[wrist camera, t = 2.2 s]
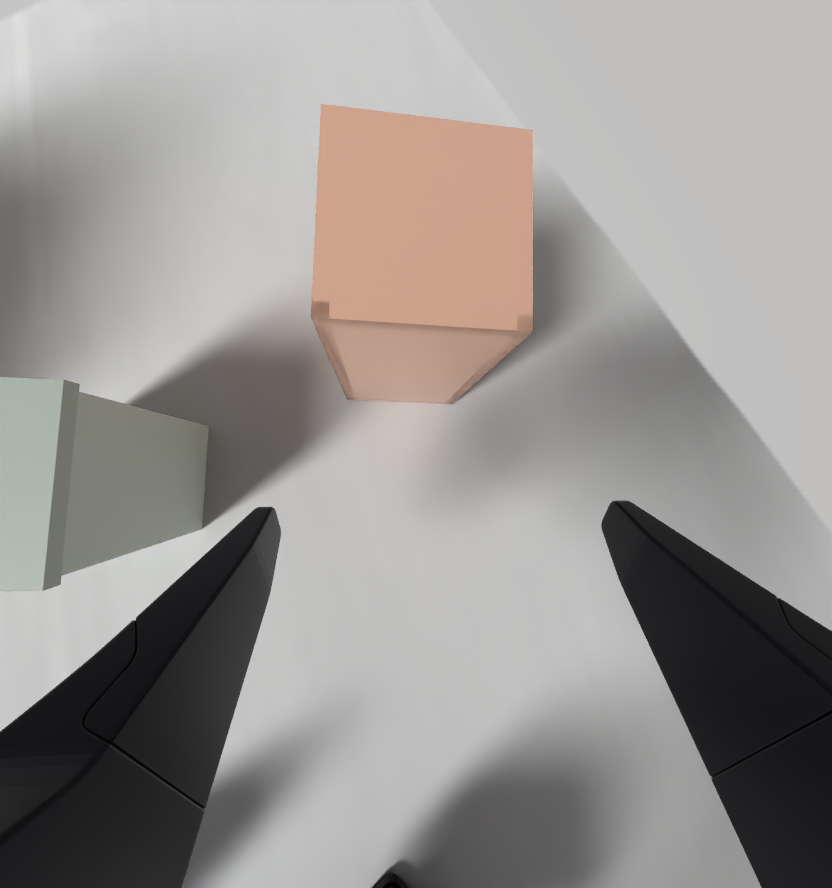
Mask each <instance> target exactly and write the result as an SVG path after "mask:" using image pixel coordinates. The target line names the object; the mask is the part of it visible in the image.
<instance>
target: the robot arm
mask: <svg viewBox="0 0 832 888" xmlns="http://www.w3.org/2000/svg"><path fill="white" fill-rule="evenodd" d="M601 527H602V531H603V534H604V537H605V540H606V543H607V546H608V549H609V552H610V555H611V558H612V560H613V563H614V566H615V569H616V572H617V575H618V577H619V580H620V582H621V585H622V587H623V589H624V592H625V594H626V596H627V598H628V600H629V602H630V605H631V607H632V609H633V611H634V613H635V615H636V617H637V620H638V622H639V624H640V626H641V628H642V630H643V632H644V635H645V637H646V639H647V641H648V643H649V645H650V648H651V650H652V652H653V654H654V656H655V658H656V660H657V663H658V665H659V667H660V669H661V671H662V673H663V676H664V678H665V680H666V682H667V684H668V686H669V688H670V691H671V693H672V695H673V697H674V699H675V701H676V704H677V706H678V708H679V710H680V712H681V714H682V716H683V719H684V721H685V723H686V725H687V727H688V729H689V732H690V734H691V736H692V738H693V740H694V742H695V744H696V747H697V749H698V751H699V753H700V755H701V757H702V759H703V762H704V764H705V766H706V768H707V770H708V772H709V775H710V776H711V777H712V778H711V779H712V782H713V784H714V786H715V788H716V790H717V792H718V794H719V797H720V799H721V801H722V803H723V805H724V807H725V810H726V812H727V814H728V816H729V818H730V820H731V822H732V825H733V827H734V829H735V831H736V833H737V835H738V837H739V840H740V842H741V844H742V846H743V848H744V850H745V853H746V855H747V857H748V859H749V861H750V863H751V865H752V868H753V870H754V872H755V874H756V876H757V878H758V880H759V883H760V885H761V887H762V888H832V631H830V630H829V629H827V628H826V627H824V626H822V625H821V624H819V623H818V622H816V621H814V620H813V619H811V618H810V617H808V616H806V615H805V614H803V613H802V612H800V611H799V610H797V609H795V608H794V607H792V606H791V605H789V604H788V603H786V602H785V601H783V600H782V599H779V598H777V597H776V596H775V595H774V594H772V593H771V592H769V591H768V590H766V589H764V588H763V587H761V586H760V585H758V584H757V583H755V582H754V581H752V580H751V579H749V578H747V577H746V576H744V575H743V574H741V573H740V572H738V571H737V570H735V569H734V568H732V567H730V566H729V565H727V564H726V563H724V562H723V561H721V560H720V559H718V558H717V557H715V556H713V555H712V554H710V553H709V552H707V551H706V550H704V549H703V548H701V547H700V546H698V545H696V544H695V543H693V542H692V541H690V540H689V539H687V538H686V537H684V536H683V535H681V534H679V533H678V532H676V531H675V530H673V529H672V528H670V527H669V526H667V525H666V524H664V523H662V522H661V521H659V520H658V519H656V518H655V517H653V516H652V515H650V514H649V513H647V512H645V511H644V510H642V509H641V508H639V507H638V506H636V505H635V504H633V503H631V502H630V501H613V502H611V503H610V505H609V507H608V509H607V511H606V513H605V516H604V518H603V520H602V524H601ZM280 537H281V529H280V525H279V522H278V518H277V515H276V511H275V509H274V508H273V507H258V508H256V509H254V510H253V511H252V512H251V513H250V514H249V515H248V516H247V517H246V518H245V519H243V520H242V521H241V522H240V523H239V524H238V525H237V526H236V527H235V528H234V529H233V530H231V531H230V532H229V533H228V534H227V535H226V536H225V537H224V538H223V539H222V540H220V541H219V542H218V543H217V544H216V545H215V546H214V547H213V548H212V549H211V550H210V551H208V552H207V553H206V554H205V555H204V556H203V557H202V558H201V559H200V560H199V561H198V562H196V563H195V564H194V565H193V566H192V567H191V568H190V569H189V570H188V571H187V572H185V573H184V574H183V575H182V576H181V577H180V578H179V579H178V580H177V581H176V582H175V583H173V584H172V585H171V586H170V587H169V588H168V589H167V590H166V591H165V592H164V593H163V594H161V595H160V596H159V597H158V598H157V599H156V600H155V601H154V602H153V603H152V604H150V605H149V606H148V607H147V608H146V609H145V610H144V611H143V612H142V613H141V614H140V615H138V616H137V618H136V621H135V620H133V621H132V622H131V623H130V624H128V625H127V626H126V627H125V628H124V629H123V630H122V631H121V632H120V633H119V634H117V635H116V636H115V637H114V638H113V639H112V640H111V641H110V642H108V643H107V644H106V645H105V646H104V647H103V648H102V649H101V650H99V651H98V652H97V653H96V654H95V655H94V656H93V657H91V658H90V659H89V660H88V661H87V662H86V663H84V664H83V665H82V666H81V667H79V668H78V669H77V670H76V671H75V672H73V673H72V674H71V675H70V676H69V677H67V678H66V679H65V680H64V681H63V682H61V683H60V684H59V685H58V686H56V687H55V688H54V689H53V690H51V691H50V692H49V693H48V694H47V695H45V696H44V697H43V698H42V699H40V700H39V701H38V702H37V703H35V704H34V705H33V706H32V707H30V708H29V709H28V710H27V711H25V712H24V713H23V714H22V715H20V716H19V717H18V718H17V719H15V720H14V721H13V722H12V723H10V724H9V725H8V726H7V727H5V728H4V729H3V730H2V731H0V888H181V887H182V884H183V881H184V877H185V874H186V871H187V867H188V864H189V861H190V857H191V854H192V851H193V848H194V844H195V841H196V838H197V834H198V831H199V828H200V824H201V821H202V818H203V814H204V808H205V807H206V804H207V801H208V797H209V794H210V791H211V787H212V784H213V781H214V777H215V774H216V771H217V768H218V764H219V761H220V758H221V754H222V751H223V748H224V744H225V741H226V738H227V735H228V731H229V728H230V725H231V721H232V718H233V715H234V711H235V708H236V705H237V701H238V698H239V695H240V692H241V688H242V685H243V682H244V678H245V675H246V672H247V668H248V665H249V662H250V659H251V655H252V652H253V649H254V645H255V642H256V639H257V635H258V632H259V629H260V625H261V622H262V619H263V616H264V612H265V609H266V606H267V602H268V599H269V595H270V591H271V586H272V581H273V576H274V570H275V565H276V559H277V553H278V548H279V542H280ZM390 886H393V887H392V888H408V887H407V886H406V885H405V883H404V882H403V881H402V880H401V879H400V878H399V877H398V876H397V875H395V874H388V875H386V876H385V877H384V878H383V879H382V880H381V882H380V883H379V884H378V885H377V886H376V887H375V888H389V887H390Z"/></svg>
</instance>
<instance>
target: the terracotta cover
mask: <svg viewBox="0 0 832 888" xmlns="http://www.w3.org/2000/svg"><path fill="white" fill-rule="evenodd" d="M311 318H312V321H313V323H314V325H315V327H316V330H317V332H318V334H319V337H320V339H321V341H322V343H323V346H324V348H325V350H326V352H327V355H328V357H329V359H330V362H331V364H332V366H333V368H334V371H335V373H336V375H337V377H338V380H339V382H340V384H341V386H342V389H343V391H344V393H345V396H346V398H347V399H349V400H372V401H395V402H419V403H442V404H453V403H454V402H455V401H456V400H458V399H459V398H460V397H461V396H462V395H463V394H464V393H465V392H466V391H468V390H469V389H470V388H471V387H472V386H473V385H474V384H475V383H476V382H478V381H479V380H480V379H481V378H482V377H483V376H484V375H485V374H486V373H488V372H489V371H490V370H491V369H492V368H493V367H494V366H495V365H496V364H498V363H499V362H500V361H501V360H502V359H503V358H504V357H505V356H506V355H508V354H509V353H510V352H511V351H512V350H513V349H514V348H515V347H517V346H518V345H519V344H520V343H521V342H522V341H523V340H524V339H525V338H527V337H528V336H529V335H530V334H531V333H532V332H533V131H532V130H527V129H519V128H511V127H503V126H495V125H487V124H479V123H471V122H463V121H455V120H447V119H439V118H431V117H423V116H415V115H406V114H398V113H390V112H382V111H374V110H366V109H358V108H350V107H342V106H334V105H326V104H321V116H320V138H319V159H318V180H317V201H316V223H315V244H314V265H313V286H312V308H311Z"/></svg>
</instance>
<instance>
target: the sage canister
mask: <svg viewBox="0 0 832 888" xmlns="http://www.w3.org/2000/svg"><path fill="white" fill-rule="evenodd" d="M79 385H80V384H77V383H73V382H70V381H66V380H58V379H36V378H14V377H0V591H44V590H47V589H49V588H52V587H55V586H58V585H60V583H61V576H62V575H65V574H68V573H71V572H74V571H77V570H80V569H83V568H86V567H89V566H92V565H95V564H98V563H101V562H104V561H107V560H110V559H113V558H116V557H119V556H122V555H125V554H128V553H131V552H134V551H137V550H140V549H143V548H146V547H149V546H152V545H155V544H158V543H161V542H164V541H167V540H170V539H173V538H176V537H179V536H182V535H185V534H188V533H191V532H194V531H198V530H201V529H202V523H203V508H204V493H205V479H206V464H207V449H208V434H209V426H207V425H203V424H200V423H196V422H192V421H188V420H184V419H181V418H177V417H173V416H169V415H165V414H161V413H158V412H154V411H150V410H146V409H142V408H139V407H135V406H131V405H127V404H123V403H120V402H116V401H112V400H108V399H104V398H101V397H97V396H93V395H89V394H85V393H82V392H79Z"/></svg>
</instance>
